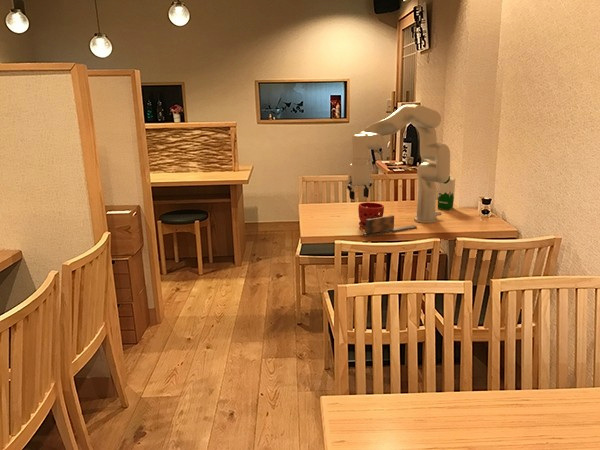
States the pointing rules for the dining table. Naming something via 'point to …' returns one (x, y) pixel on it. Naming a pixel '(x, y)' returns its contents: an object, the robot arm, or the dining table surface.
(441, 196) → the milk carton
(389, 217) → the walnut screen
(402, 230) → the screen rail
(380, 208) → the plant pot
